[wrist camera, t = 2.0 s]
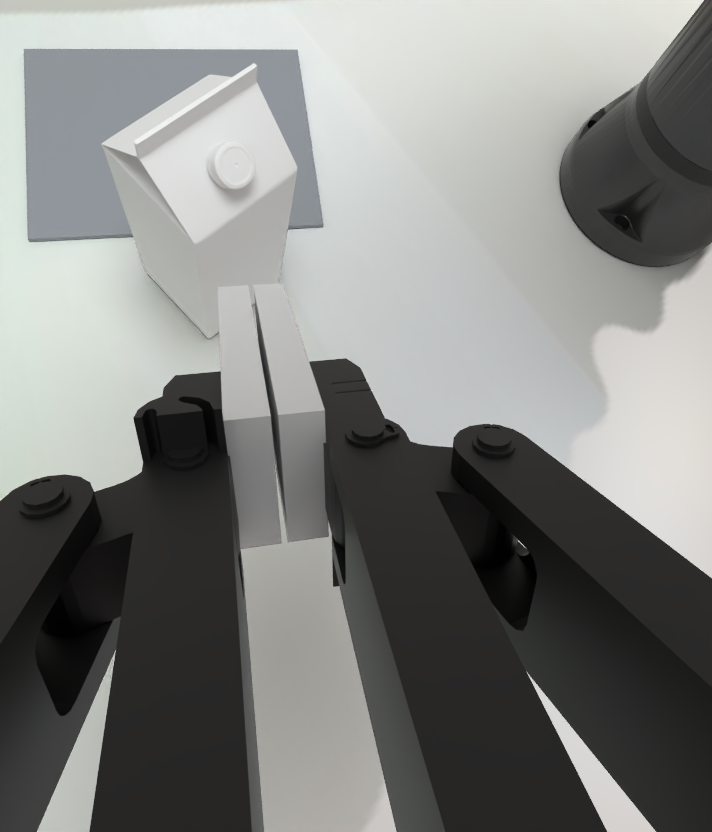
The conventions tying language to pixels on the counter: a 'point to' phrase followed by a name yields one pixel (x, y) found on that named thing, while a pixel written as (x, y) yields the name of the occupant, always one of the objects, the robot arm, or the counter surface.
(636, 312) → the counter surface
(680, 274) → the counter surface
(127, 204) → the milk carton
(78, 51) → the mat
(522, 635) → the robot arm
